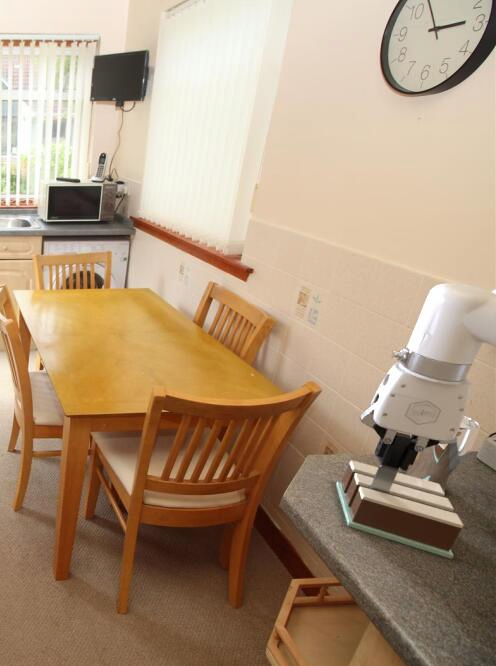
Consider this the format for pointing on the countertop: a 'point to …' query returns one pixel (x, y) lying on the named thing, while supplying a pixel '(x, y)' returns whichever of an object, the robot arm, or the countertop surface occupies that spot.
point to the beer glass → (445, 455)
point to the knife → (391, 464)
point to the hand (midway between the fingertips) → (391, 462)
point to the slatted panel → (400, 510)
